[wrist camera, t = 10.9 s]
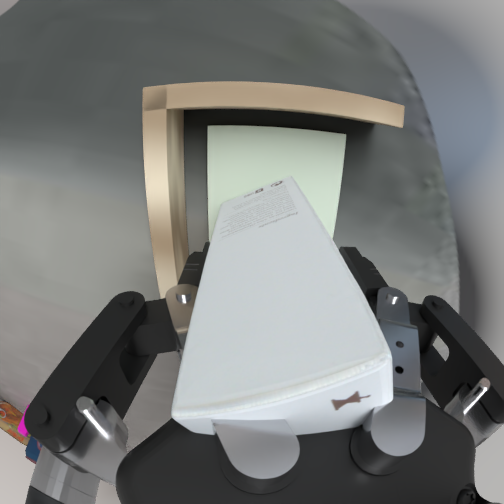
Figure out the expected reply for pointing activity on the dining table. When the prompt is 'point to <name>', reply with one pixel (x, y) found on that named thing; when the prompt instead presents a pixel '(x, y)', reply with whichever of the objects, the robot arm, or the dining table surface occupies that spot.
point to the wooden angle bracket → (172, 146)
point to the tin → (12, 422)
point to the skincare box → (279, 324)
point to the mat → (274, 165)
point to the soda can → (33, 450)
